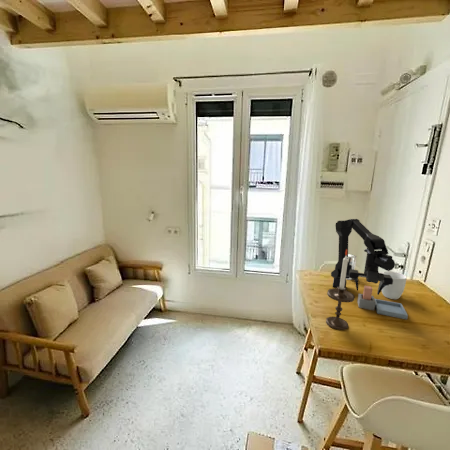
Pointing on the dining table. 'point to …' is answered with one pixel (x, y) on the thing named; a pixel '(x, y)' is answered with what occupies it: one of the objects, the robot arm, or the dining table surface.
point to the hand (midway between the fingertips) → (367, 292)
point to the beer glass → (351, 262)
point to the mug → (394, 285)
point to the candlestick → (340, 299)
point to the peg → (367, 292)
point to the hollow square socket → (366, 302)
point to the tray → (390, 309)
